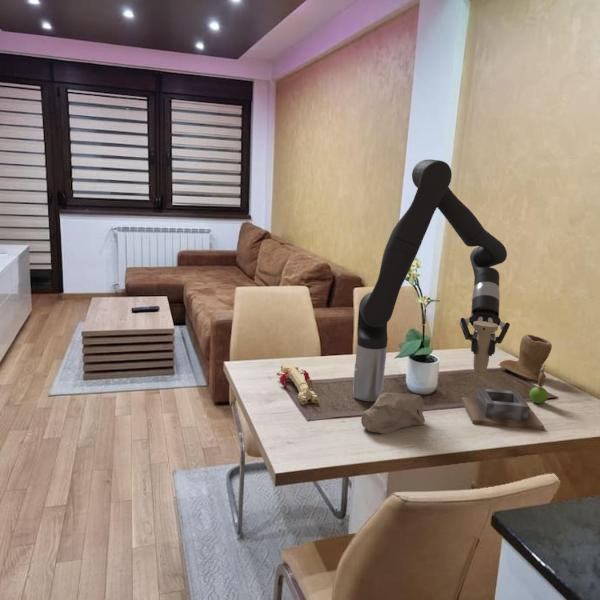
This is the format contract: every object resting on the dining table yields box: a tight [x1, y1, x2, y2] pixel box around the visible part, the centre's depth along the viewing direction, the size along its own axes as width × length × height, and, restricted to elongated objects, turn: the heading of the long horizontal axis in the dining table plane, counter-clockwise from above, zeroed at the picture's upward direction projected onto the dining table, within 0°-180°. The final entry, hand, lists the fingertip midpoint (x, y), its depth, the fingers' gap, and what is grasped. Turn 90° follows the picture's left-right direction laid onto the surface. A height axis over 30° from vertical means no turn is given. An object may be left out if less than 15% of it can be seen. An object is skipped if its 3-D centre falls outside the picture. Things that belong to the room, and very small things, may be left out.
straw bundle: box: [276, 362, 320, 405], centre depth 168 cm, size 10×9×25 cm
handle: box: [472, 321, 499, 377], centre depth 145 cm, size 5×6×15 cm
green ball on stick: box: [528, 364, 549, 405], centre depth 167 cm, size 5×6×12 cm
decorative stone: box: [360, 392, 426, 435], centre depth 146 cm, size 20×8×10 cm, turn 119°
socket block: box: [460, 387, 545, 431], centre depth 158 cm, size 20×16×6 cm
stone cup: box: [498, 334, 553, 381], centre depth 191 cm, size 15×12×15 cm
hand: (482, 353), depth 144 cm, fingers closed on handle, 3 cm apart
